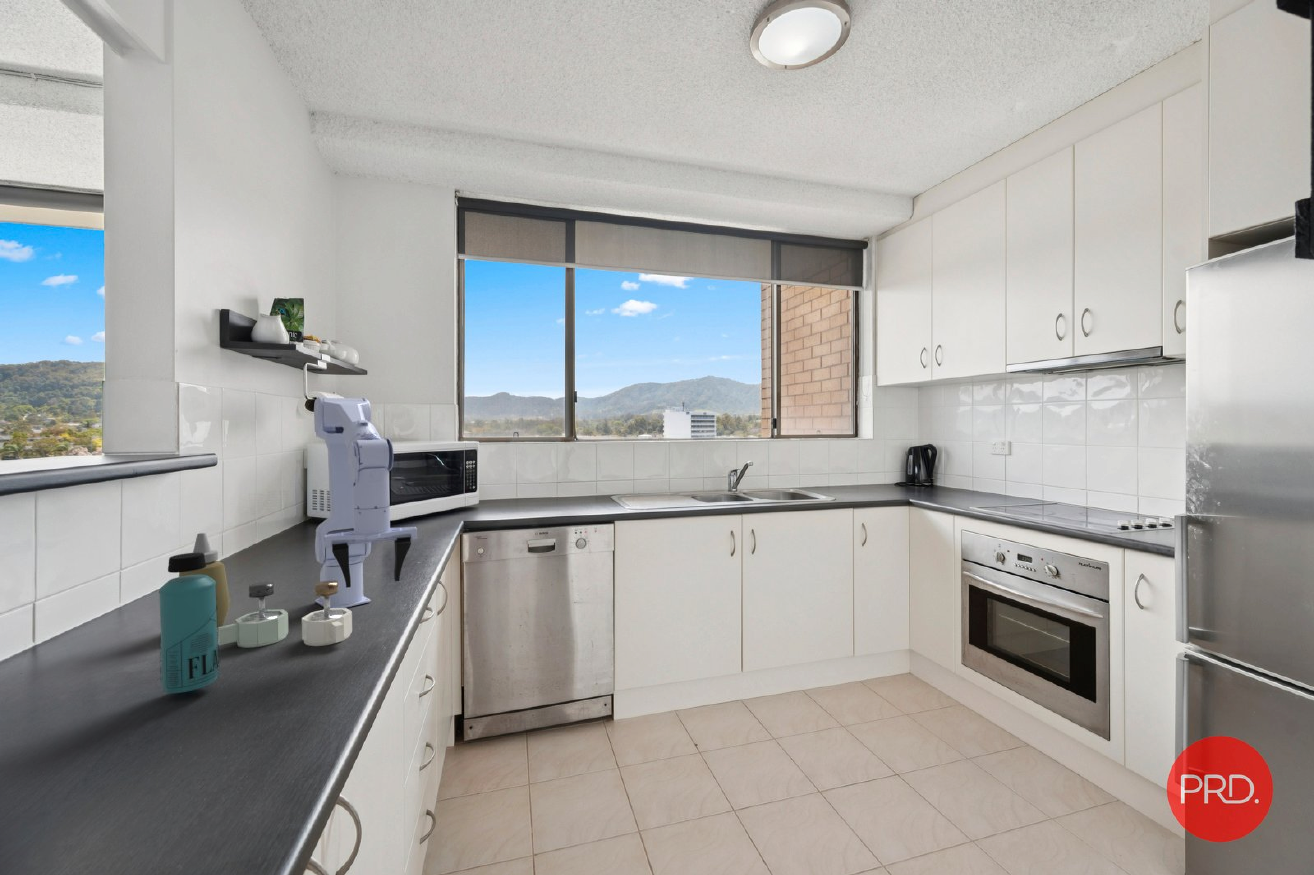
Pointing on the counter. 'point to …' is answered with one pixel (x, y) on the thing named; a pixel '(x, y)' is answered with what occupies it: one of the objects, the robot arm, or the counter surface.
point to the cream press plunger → (326, 600)
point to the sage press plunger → (261, 600)
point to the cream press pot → (326, 628)
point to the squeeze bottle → (213, 576)
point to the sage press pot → (255, 630)
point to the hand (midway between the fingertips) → (373, 582)
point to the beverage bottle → (188, 627)
